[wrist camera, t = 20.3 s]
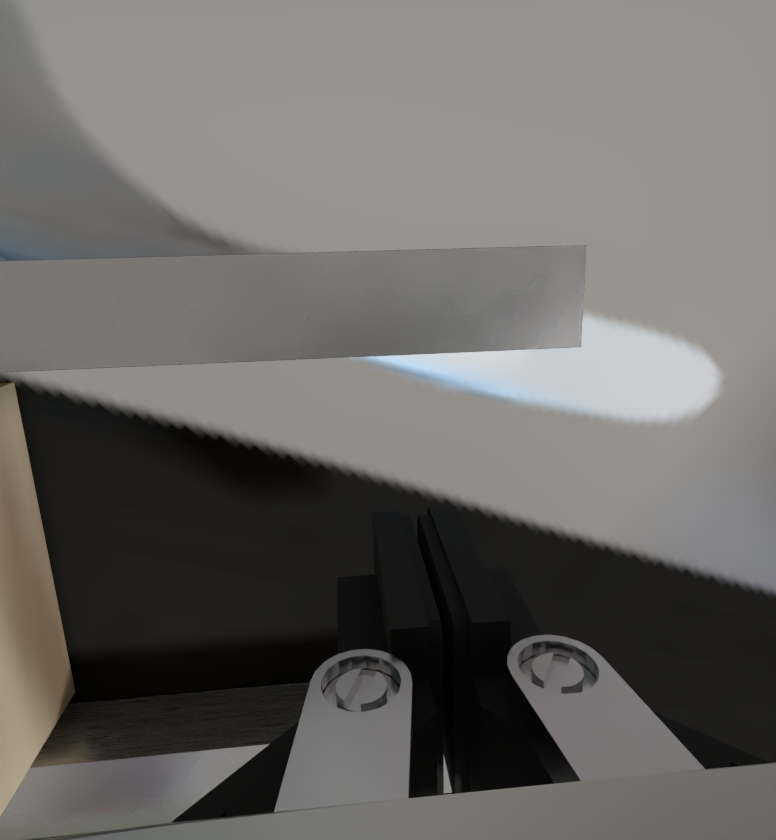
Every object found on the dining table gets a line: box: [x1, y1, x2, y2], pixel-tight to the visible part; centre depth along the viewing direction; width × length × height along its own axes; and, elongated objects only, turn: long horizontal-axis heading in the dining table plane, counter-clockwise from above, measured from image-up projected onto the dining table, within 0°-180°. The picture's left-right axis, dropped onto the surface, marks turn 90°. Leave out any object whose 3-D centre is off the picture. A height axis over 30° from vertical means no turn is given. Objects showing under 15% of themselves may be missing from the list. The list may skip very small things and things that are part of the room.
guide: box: [0, 245, 586, 840], centre depth 12 cm, size 22×13×5 cm, turn 92°
